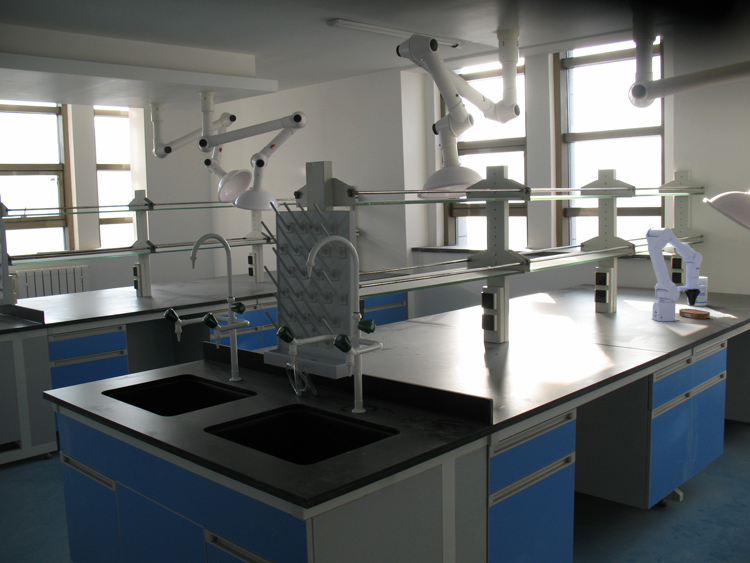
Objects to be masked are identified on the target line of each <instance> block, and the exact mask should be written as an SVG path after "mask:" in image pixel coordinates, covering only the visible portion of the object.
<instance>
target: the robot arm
mask: <svg viewBox="0 0 750 563" xmlns="http://www.w3.org/2000/svg"><path fill="white" fill-rule="evenodd" d="M645 239H646V242H647V251H648V254H649V257H650V261H651V264H652V268H653V271H654V275H655V277H656V281H657V282H656V284H655V285H654V296H655V298H656V300H657V301H655V302H654V303H653V304H652V317H651V320H654V321H657V322H661V323H663V322H675V321H677V322H678V321H680V319H679V318H676V302H677V301H678V300H679V298H680V297H681V296H680V294H681V291H682V292H683V291H684V293H685V295H686V298H687V297H688V300H689V305H688V306H692V305H695V301H696V299H697V296H698V295H699V293H700V290H701V289H709V284H708V285H699V276H700V268H701V267H702V266H701V265H702V262H703V259H704V258H703V256H702V254H701V252H698V251H695V249H694V248H692V247H691V246H690V245H689V243H687V242H681V240H680V239H679V238H678V237H677V236H676V235H675V234H674V231H673V230H672V229H671V228H669V227H649V228H648V230H647V231H646V234H645ZM668 244H669V245H671V246H673V248H675V252H676V253H677V254H678V255H679V256H680V257H682V260H683V262H684V263H685V264H686V265H685V285H680V286H677V284H675V283H674V282H673V281H672V280H671V278H670V274H669V271H668V268H667V267H668V266H667V264H666V261H665V260H666V259H665V257H664V254H663V249H664V248H666V247H667V245H668ZM695 288H697V289H695Z"/></svg>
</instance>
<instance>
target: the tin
mask: <svg viewBox="0 0 750 563" xmlns="http://www.w3.org/2000/svg"><path fill="white" fill-rule="evenodd" d="M678 314H679V316H681V317H685V318H689V319H695V320H696V319H697V320H704V319H710V317H711V316H710V312H709V311H705V310H701V309H696V308H695V309H694V308H680V309H679V311H678Z"/></svg>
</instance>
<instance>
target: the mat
mask: <svg viewBox="0 0 750 563" xmlns="http://www.w3.org/2000/svg"><path fill="white" fill-rule="evenodd" d="M708 312H710V317H712V318H715V317H716V318H715V319H720V318H723V317H724V318H731V316H729V315H726V314H722V313H719V312H716V311H709V310H708Z"/></svg>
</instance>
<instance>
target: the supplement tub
mask: <svg viewBox="0 0 750 563" xmlns="http://www.w3.org/2000/svg"><path fill="white" fill-rule="evenodd" d="M708 278H709V277H708V276H700V275H699V285H708V286H709V279H708ZM695 289H697V288H695ZM708 289H709V288H708ZM708 289H701V290H700V293H699V295H698V296H697V299H696V301H695V305H691V306H693V307H705V306H707V305H708V293H709V291H708ZM686 304H687V305H688V306H690V305H689V300H688V297H687V296H686Z"/></svg>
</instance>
